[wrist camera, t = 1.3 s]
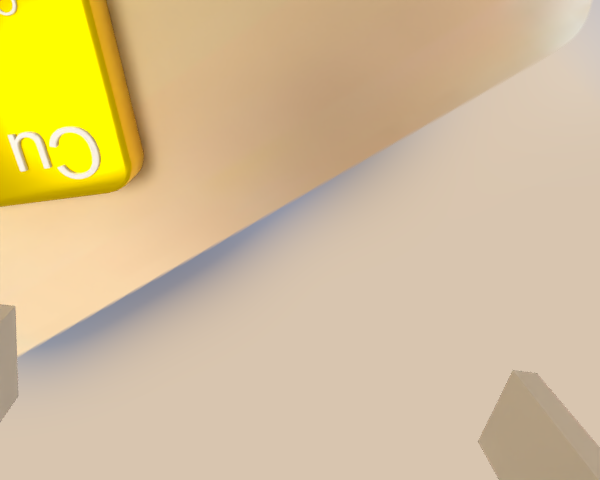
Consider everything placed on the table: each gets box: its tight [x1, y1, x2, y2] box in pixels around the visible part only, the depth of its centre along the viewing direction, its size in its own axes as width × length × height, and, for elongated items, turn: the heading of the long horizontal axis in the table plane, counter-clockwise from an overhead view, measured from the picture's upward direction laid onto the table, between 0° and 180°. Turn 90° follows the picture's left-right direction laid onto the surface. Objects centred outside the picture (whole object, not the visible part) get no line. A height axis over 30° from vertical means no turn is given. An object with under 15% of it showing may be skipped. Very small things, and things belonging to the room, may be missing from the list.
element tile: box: [0, 0, 143, 207], centre depth 32 cm, size 15×15×5 cm
